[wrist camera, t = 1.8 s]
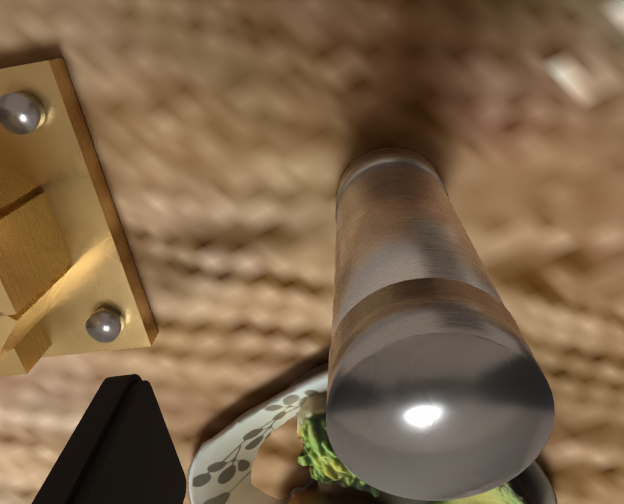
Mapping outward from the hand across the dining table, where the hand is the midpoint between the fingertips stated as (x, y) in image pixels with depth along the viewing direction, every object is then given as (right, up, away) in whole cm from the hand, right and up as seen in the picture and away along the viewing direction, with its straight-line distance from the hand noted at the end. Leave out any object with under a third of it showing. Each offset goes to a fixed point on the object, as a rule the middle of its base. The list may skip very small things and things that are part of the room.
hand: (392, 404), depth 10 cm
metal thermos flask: (+1, +5, +10) cm, 12 cm away
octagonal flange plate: (-15, +4, +12) cm, 20 cm away
